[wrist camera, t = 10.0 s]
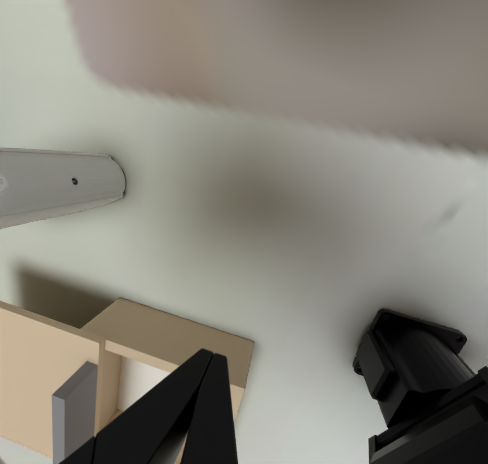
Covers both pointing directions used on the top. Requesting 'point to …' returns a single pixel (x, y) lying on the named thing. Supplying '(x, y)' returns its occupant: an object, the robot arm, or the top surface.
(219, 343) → the mailer box
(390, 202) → the top surface
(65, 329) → the lid
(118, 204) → the top surface
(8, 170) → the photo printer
